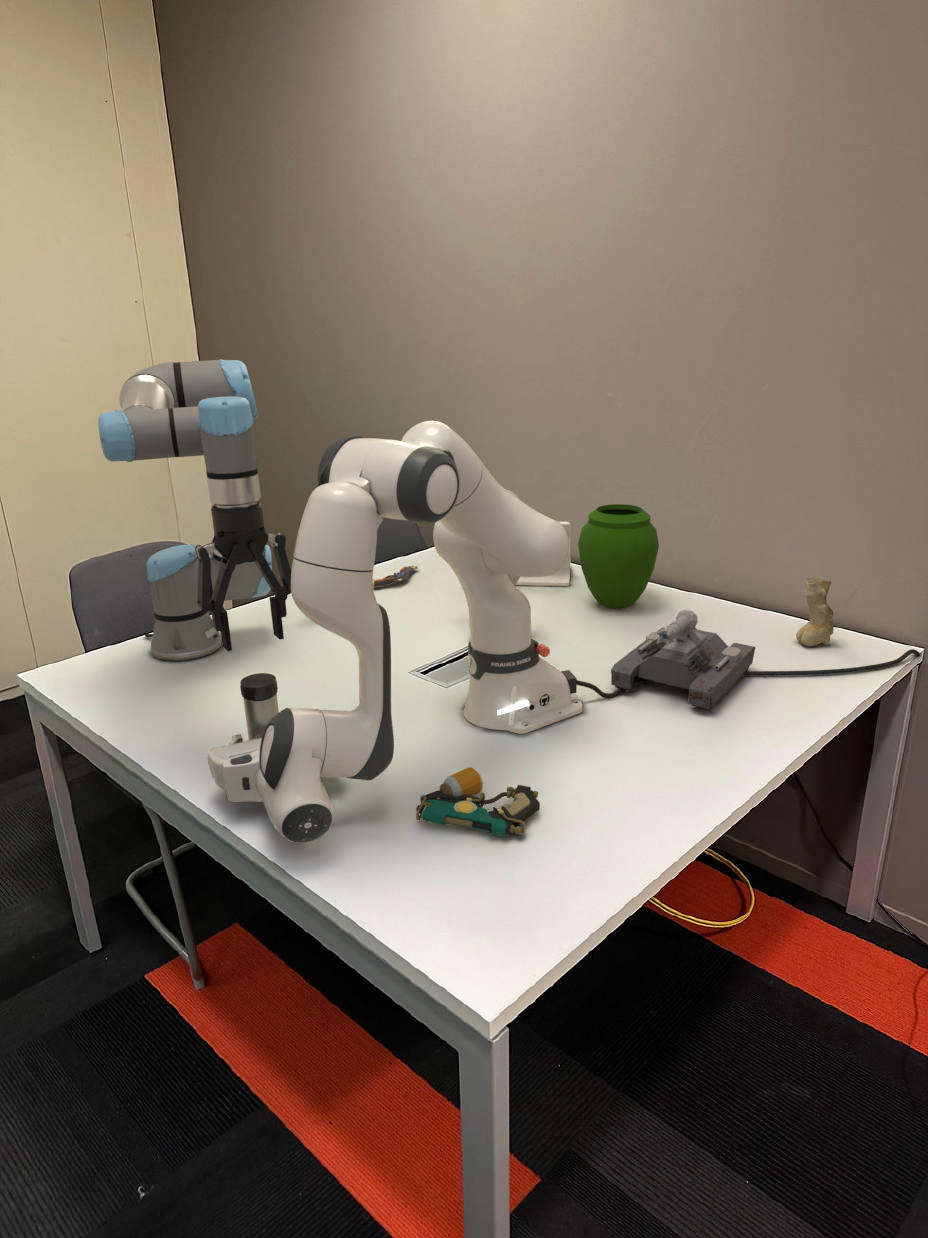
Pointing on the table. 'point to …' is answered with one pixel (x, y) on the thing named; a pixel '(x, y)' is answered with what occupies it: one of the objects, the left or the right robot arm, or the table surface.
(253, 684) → the lid
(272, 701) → the beige cylindrical container
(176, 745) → the table surface
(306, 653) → the table surface
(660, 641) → the toy
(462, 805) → the spray gun
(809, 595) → the sculpture
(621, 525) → the vase
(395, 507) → the right robot arm
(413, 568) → the multicoloured long piece
